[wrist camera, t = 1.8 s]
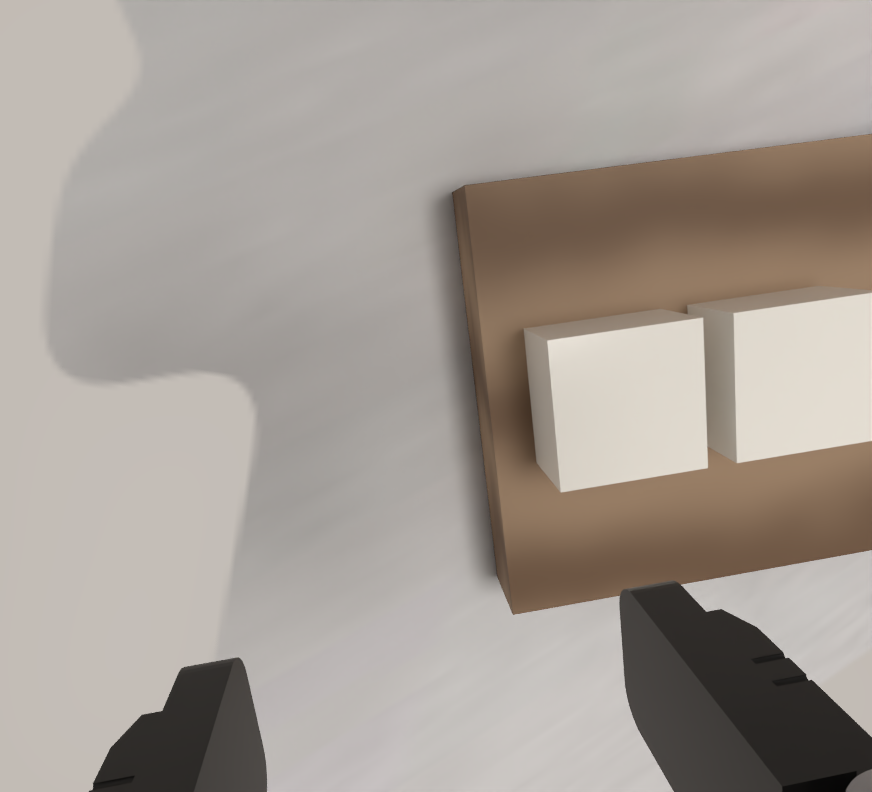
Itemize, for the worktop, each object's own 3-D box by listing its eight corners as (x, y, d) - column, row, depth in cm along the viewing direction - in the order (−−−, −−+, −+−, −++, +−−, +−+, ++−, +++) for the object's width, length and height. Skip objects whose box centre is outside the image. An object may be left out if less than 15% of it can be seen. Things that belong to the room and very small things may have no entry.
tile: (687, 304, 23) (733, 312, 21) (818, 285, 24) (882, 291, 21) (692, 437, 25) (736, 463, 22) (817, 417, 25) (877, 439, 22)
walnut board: (452, 192, 25) (464, 185, 22) (851, 141, 26) (913, 128, 23) (497, 577, 28) (512, 614, 25) (844, 515, 30) (897, 545, 27)
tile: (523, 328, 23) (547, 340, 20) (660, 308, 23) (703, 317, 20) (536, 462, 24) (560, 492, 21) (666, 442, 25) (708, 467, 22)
